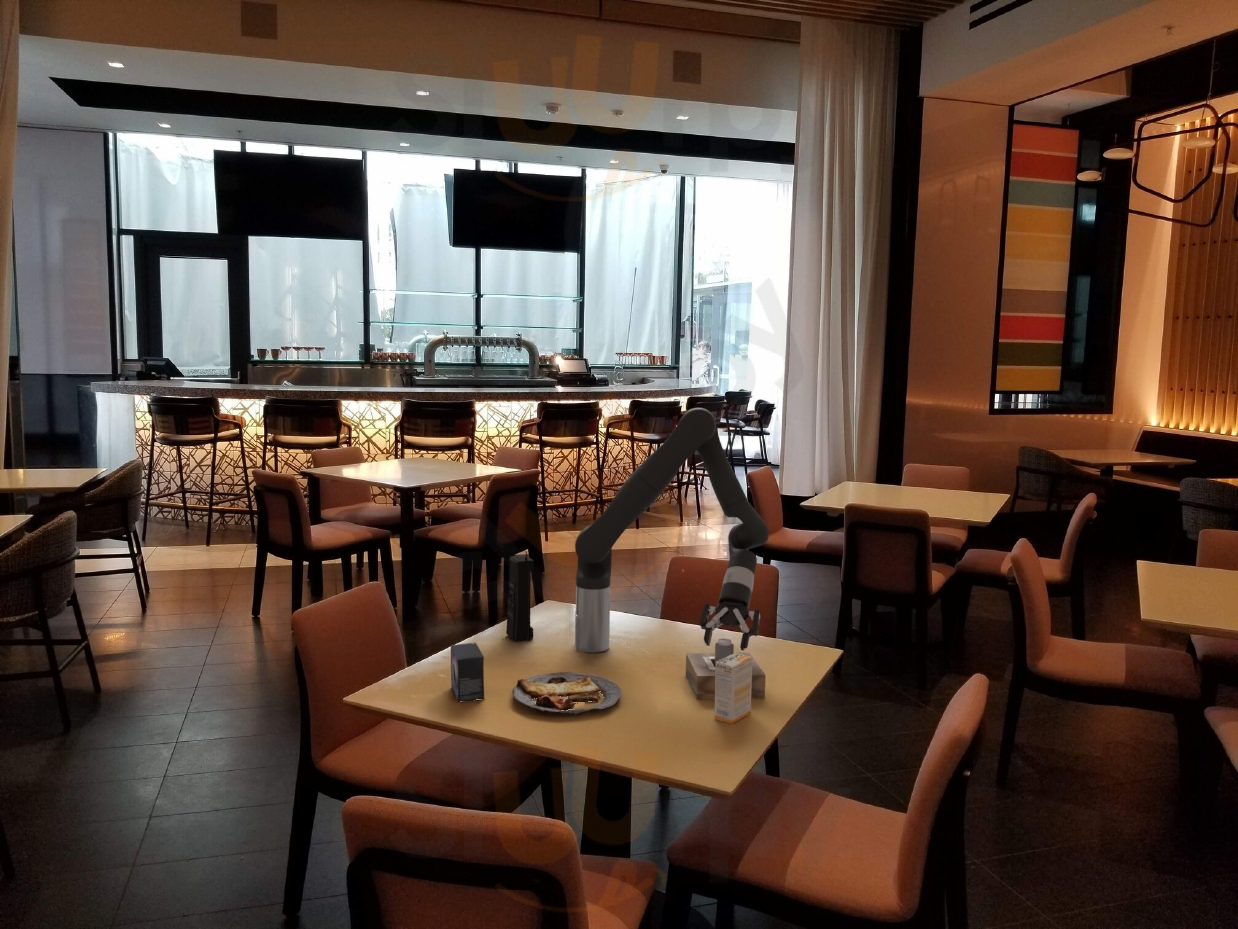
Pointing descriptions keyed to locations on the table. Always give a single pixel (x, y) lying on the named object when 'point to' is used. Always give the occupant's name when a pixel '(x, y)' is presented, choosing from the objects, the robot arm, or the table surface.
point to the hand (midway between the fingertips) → (724, 646)
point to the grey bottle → (723, 649)
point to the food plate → (565, 691)
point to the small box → (467, 672)
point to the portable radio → (519, 598)
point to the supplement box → (733, 687)
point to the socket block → (703, 675)
